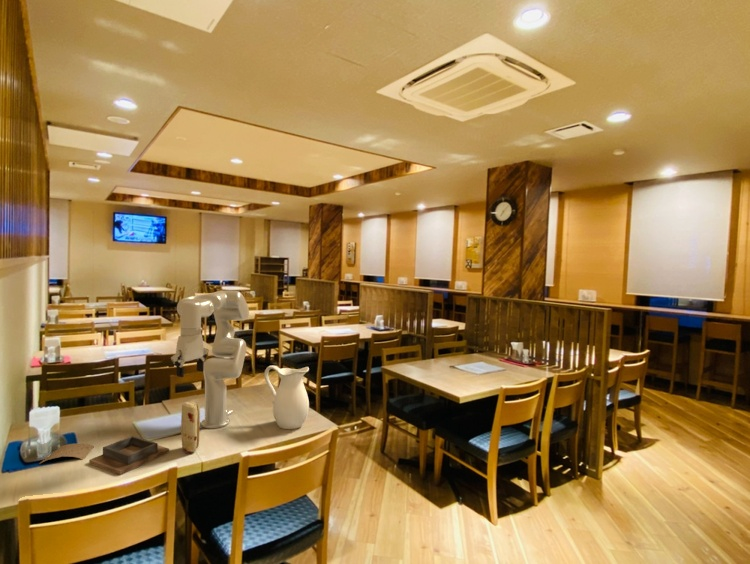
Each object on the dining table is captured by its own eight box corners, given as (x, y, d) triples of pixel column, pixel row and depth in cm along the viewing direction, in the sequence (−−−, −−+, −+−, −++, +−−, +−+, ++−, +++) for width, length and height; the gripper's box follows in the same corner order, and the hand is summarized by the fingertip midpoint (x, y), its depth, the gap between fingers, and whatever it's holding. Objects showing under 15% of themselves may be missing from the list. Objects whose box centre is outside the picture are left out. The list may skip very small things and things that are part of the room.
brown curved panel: (95, 447, 167) (95, 440, 166) (87, 460, 156) (87, 453, 156) (47, 453, 161) (47, 446, 161) (35, 467, 150) (35, 459, 150)
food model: (177, 448, 167) (177, 401, 166) (194, 444, 171) (194, 397, 170) (185, 457, 160) (186, 407, 159) (202, 452, 164) (203, 403, 163)
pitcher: (315, 422, 198) (316, 366, 197) (294, 435, 183) (295, 374, 182) (276, 413, 208) (277, 360, 207) (253, 424, 193) (254, 367, 192)
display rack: (139, 442, 171) (139, 431, 171) (169, 452, 163) (169, 440, 163) (89, 463, 153) (89, 450, 152) (120, 475, 145) (120, 461, 145)
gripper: (201, 328, 172) (200, 367, 173) (165, 334, 157) (165, 377, 158) (214, 329, 169) (213, 370, 170) (179, 336, 154) (178, 380, 154)
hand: (190, 373), depth 164 cm, fingers open, 9 cm apart
